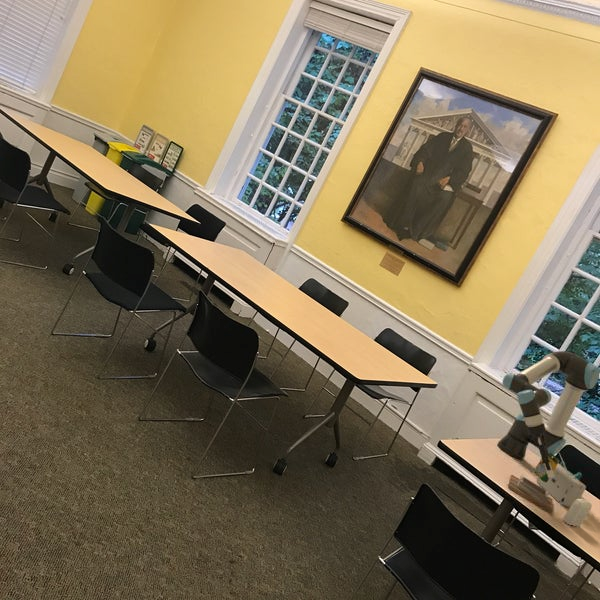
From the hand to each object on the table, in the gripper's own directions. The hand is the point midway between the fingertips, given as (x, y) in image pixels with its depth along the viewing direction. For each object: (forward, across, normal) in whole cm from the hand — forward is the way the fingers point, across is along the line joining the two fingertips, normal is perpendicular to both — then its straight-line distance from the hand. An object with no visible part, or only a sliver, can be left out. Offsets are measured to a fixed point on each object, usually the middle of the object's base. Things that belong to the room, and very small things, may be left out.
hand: (551, 474), depth 261 cm
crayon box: (0, 0, -5) cm, 5 cm away
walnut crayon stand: (+7, 0, -12) cm, 14 cm away
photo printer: (+21, +5, +2) cm, 21 cm away
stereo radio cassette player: (+15, -22, -4) cm, 27 cm away
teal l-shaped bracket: (+18, -58, -1) cm, 61 cm away
